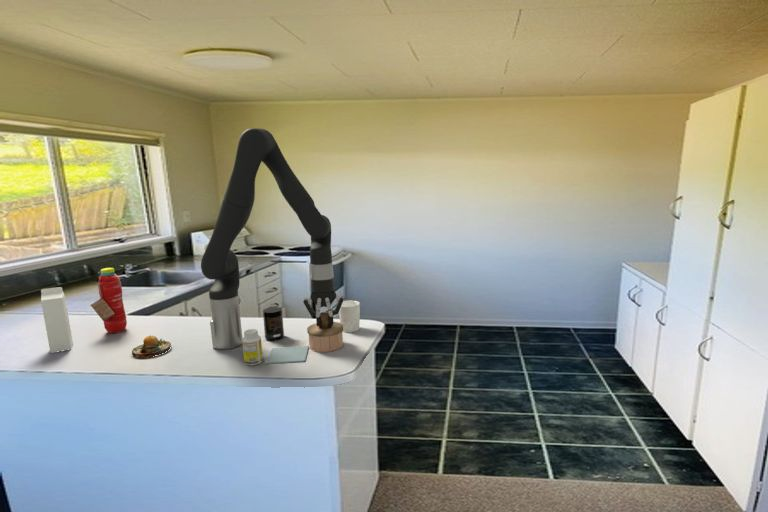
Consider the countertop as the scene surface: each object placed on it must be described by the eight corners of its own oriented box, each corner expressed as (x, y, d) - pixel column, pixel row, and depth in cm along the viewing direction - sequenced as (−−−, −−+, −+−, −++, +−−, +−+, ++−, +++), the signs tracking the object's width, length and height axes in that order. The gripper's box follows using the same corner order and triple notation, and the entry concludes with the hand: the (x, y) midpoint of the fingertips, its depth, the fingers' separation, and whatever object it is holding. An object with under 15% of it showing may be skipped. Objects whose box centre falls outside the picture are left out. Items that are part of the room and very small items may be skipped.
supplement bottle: (256, 357, 143) (253, 326, 141) (266, 361, 139) (263, 330, 137) (240, 363, 139) (237, 331, 137) (251, 367, 135) (248, 335, 133)
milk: (71, 349, 156) (61, 288, 151) (50, 353, 153) (39, 291, 149) (73, 344, 161) (63, 285, 157) (52, 348, 158) (42, 287, 154)
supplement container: (279, 333, 164) (277, 305, 162) (287, 338, 159) (285, 309, 157) (262, 337, 160) (259, 309, 159) (269, 342, 155) (266, 314, 153)
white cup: (357, 333, 161) (356, 306, 159) (336, 332, 162) (335, 306, 161) (363, 326, 168) (362, 300, 167) (343, 325, 170) (341, 300, 168)
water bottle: (108, 338, 165) (98, 272, 161) (91, 337, 168) (81, 272, 163) (134, 327, 177) (125, 265, 172) (118, 326, 179) (109, 265, 174)
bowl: (308, 353, 144) (307, 337, 143) (311, 340, 155) (310, 325, 154) (342, 351, 145) (341, 334, 144) (343, 338, 156) (342, 323, 155)
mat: (265, 364, 137) (265, 362, 137) (272, 349, 149) (272, 348, 149) (305, 361, 138) (305, 360, 138) (308, 346, 150) (308, 345, 150)
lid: (305, 337, 143) (304, 319, 142) (309, 325, 155) (307, 308, 154) (343, 335, 144) (342, 317, 143) (343, 323, 155) (342, 306, 154)
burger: (175, 344, 158) (173, 324, 157) (165, 357, 146) (163, 335, 145) (139, 347, 156) (136, 327, 155) (126, 361, 144) (123, 339, 143)
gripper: (299, 280, 142) (303, 332, 145) (343, 277, 143) (346, 329, 146) (301, 275, 149) (305, 324, 152) (343, 272, 150) (346, 322, 153)
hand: (325, 326), depth 149 cm, fingers closed on lid, 3 cm apart
